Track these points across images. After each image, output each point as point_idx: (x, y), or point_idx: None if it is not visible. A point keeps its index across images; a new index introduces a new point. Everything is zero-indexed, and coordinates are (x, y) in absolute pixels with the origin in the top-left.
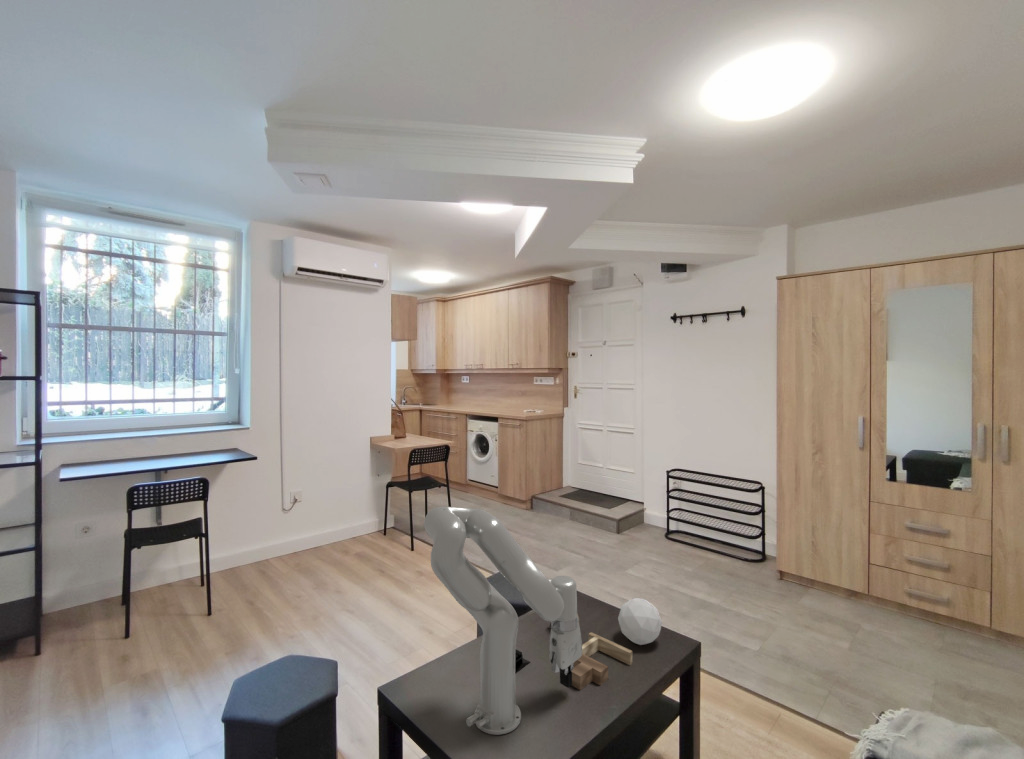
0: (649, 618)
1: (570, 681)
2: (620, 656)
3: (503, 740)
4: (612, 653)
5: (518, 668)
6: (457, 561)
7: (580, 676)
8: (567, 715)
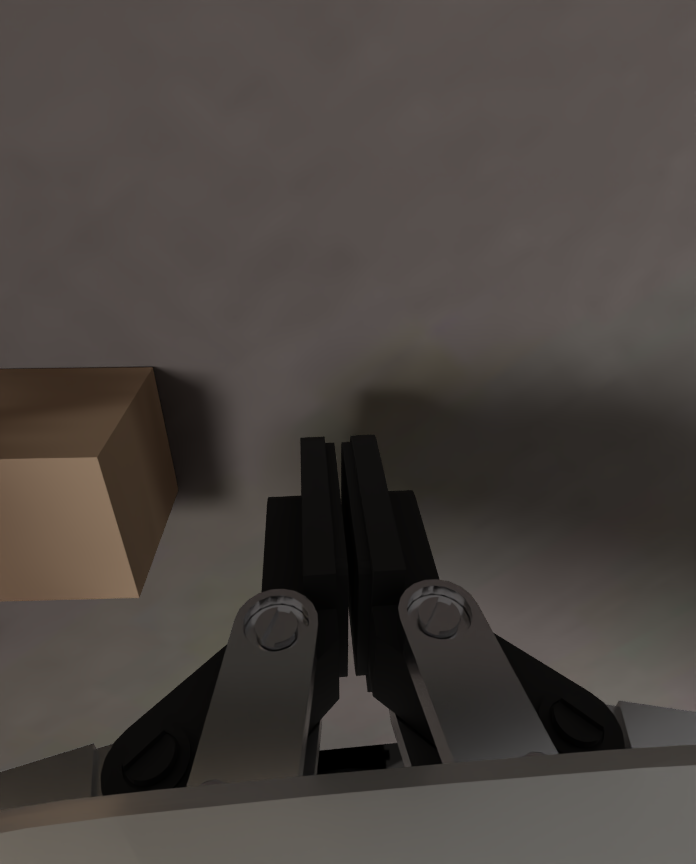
0: None
1: (331, 476)
2: None
3: None
4: None
5: (356, 761)
6: None
7: (96, 458)
8: (604, 212)
